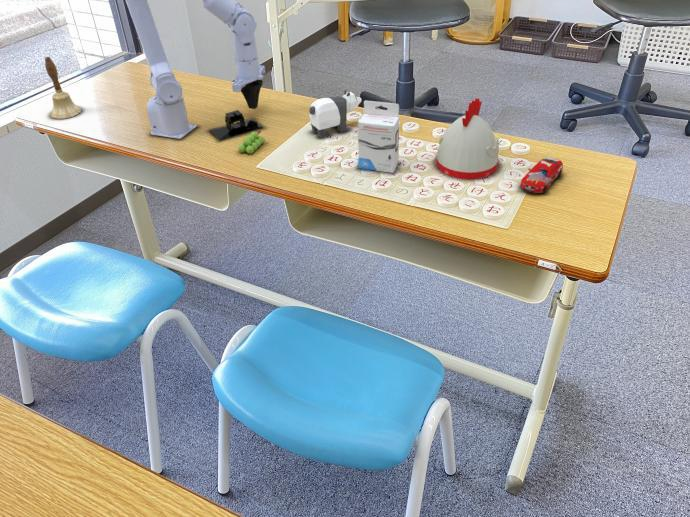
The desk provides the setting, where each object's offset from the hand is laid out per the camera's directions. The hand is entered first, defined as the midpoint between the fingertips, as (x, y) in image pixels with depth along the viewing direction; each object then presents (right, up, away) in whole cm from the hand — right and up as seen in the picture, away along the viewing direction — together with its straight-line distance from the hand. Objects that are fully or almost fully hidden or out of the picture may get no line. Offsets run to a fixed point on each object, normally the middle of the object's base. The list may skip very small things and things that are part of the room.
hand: (253, 107), depth 161 cm
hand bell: (-54, 0, +7) cm, 55 cm away
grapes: (+2, -14, -15) cm, 20 cm away
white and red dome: (+53, -20, -25) cm, 62 cm away
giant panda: (+23, -8, -8) cm, 25 cm away
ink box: (+33, -20, -24) cm, 46 cm away
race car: (+68, -25, -32) cm, 79 cm away
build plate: (-3, -8, -6) cm, 10 cm away
